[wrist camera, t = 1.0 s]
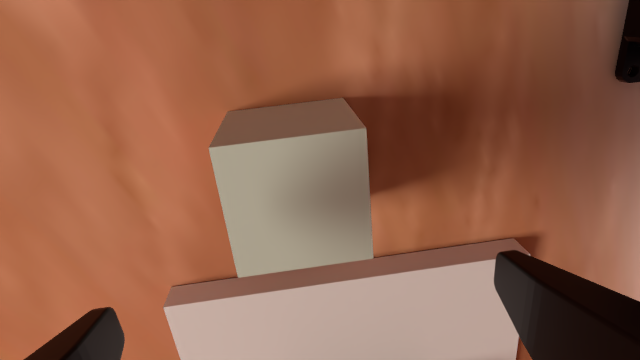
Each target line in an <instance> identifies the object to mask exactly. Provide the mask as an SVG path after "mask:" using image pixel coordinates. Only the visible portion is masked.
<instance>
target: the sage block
mask: <svg viewBox="0 0 640 360" xmlns="http://www.w3.org/2000/svg"><path fill="white" fill-rule="evenodd" d="M209 152H210V156H211V161H212V165H213V169H214V174H215V178H216V183H217V187H218V191H219V196H220V200H221V205H222V209H223V213H224V218H225V222H226V227H227V231H228V235H229V240H230V244H231V249H232V253H233V258H234V262H235V266H236V271H237V275H238V278H240V277H247V276H254V275H261V274H269V273H276V272H283V271H290V270H297V269H304V268H311V267H318V266H325V265H332V264H339V263H346V262H353V261H360V260H367V259H373V241H372V223H371V204H370V186H369V168H368V149H367V131H366V127H365V126H364V124H363V123H362V122H361V120H360V119H359V118H358V117H357V115H356V114H355V113H354V111H353V110H352V109H351V107H350V106H349V105H348V104H347V102H346V101H345V100H344V98H336V99H328V100H320V101H311V102H303V103H295V104H287V105H279V106H270V107H262V108H254V109H246V110H237V111H229V112H227V114H226V116H225V118H224V120H223V121H222V123H221V125H220V127H219V129H218V131H217V133H216V135H215V137H214V139H213V140H212V142H211V144H210V146H209Z"/></svg>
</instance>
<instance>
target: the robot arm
mask: <svg viewBox="0 0 640 360" xmlns="http://www.w3.org/2000/svg"><path fill="white" fill-rule="evenodd" d="M630 67H631V71H630V73H629V74H628V70H629V68H630ZM615 76H616V79H617V80H619V81H622V82H627V83H634V82H640V0H629V4H628V9H627V14H626V19H625V24H624V29H623V35H622V40H621V45H620V50H619V55H618V60H617V65H616V70H615ZM494 286H495V289H496V291H497V293H498V295H499V297H500V299H501V301H502V303H503V305H504V307H505V309H506V311H507V313H508V315H509V317H510V319H511V321H512V323H513V325H514V327H515V329H516V331H517V333H518V335H519V337H520V339H521V340H522V342H523V344H524V346H525V348H526V349H527V351H528V353H529V354H530V356H531V358H532V359H533V360H640V302H639V301H637V300H634V299H632V298H630V297H627V296H625V295H622V294H620V293H618V292H615V291H613V290H611V289H608V288H606V287H603V286H601V285H599V284H596V283H594V282H591V281H589V280H587V279H584V278H582V277H579V276H577V275H575V274H572V273H570V272H568V271H565V270H563V269H560V268H558V267H556V266H553V265H551V264H548V263H546V262H544V261H541V260H539V259H536V258H534V257H532V256H529V255H527V254H525V253H522V252H520V251H517V250H508V251H501V252H499V253H498V254H497V256H496V261H495V272H494ZM124 341H125V339H124V333H123V330H122V328H121V325H120V323H119V320H118V318H117V315H116V313H115V311H114V309H113V308H111V307H105V308H98V309H93V310H91V311H89V312H88V313H86V314H85V315H84V316H82V317H81V318H80V319H78V320H77V321H76V322H74V323H73V324H72V325H70V326H69V327H67V328H66V329H65V330H63V331H62V332H61V333H59V334H58V335H57V336H55V337H54V338H53V339H51V340H50V341H48V342H47V343H46V344H44V345H43V346H42V347H40V348H39V349H38V350H36V351H35V352H34V353H32V354H31V355H29V356H28V357H27V358H25V359H24V360H120V359H121V355H122V351H123V347H124Z"/></svg>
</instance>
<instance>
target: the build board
mask: <svg viewBox="0 0 640 360" xmlns="http://www.w3.org/2000/svg"><path fill="white" fill-rule="evenodd" d="M508 250H517V251H520V252H522V253H525V254H527V255H529V256H530V253H529V252H528V251H527V250H525V249H524V248H523V247H522V246H521V245H520V244H519V243H518V242H517V241H516V240H515V239H514V238H511V239H504V240H497V241H490V242H483V243H476V244H469V245H462V246H455V247H448V248H441V249H434V250H427V251H420V252H413V253H406V254H399V255H392V256H385V257H378V258H373V259H367V260H360V261H353V262H346V263H339V264H332V265H325V266H318V267H311V268H304V269H297V270H290V271H283V272H276V273H269V274H261V275H254V276H247V277H240V278H231V279H224V280H217V281H210V282H203V283H196V284H189V285H182V286H175V287H171V289H170V292H169V294H168V297H167V299H166V302H165V304H164V307H163V308H164V311H165V314H166V317H167V320H168V323H169V326H170V329H171V332H172V335H173V338H174V341H175V344H176V347H177V350H178V353H179V356H180V359H181V360H516V354H517V347H518V339H519V335H518V333H517V331H516V329H515V327H514V325H513V323H512V321H511V319H510V317H509V315H508V313H507V311H506V309H505V307H504V305H503V303H502V301H501V299H500V297H499V295H498V293H497V291H496V289H495V286H494V272H495V261H496V256H497V254H498V253H499V252H501V251H508Z"/></svg>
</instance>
